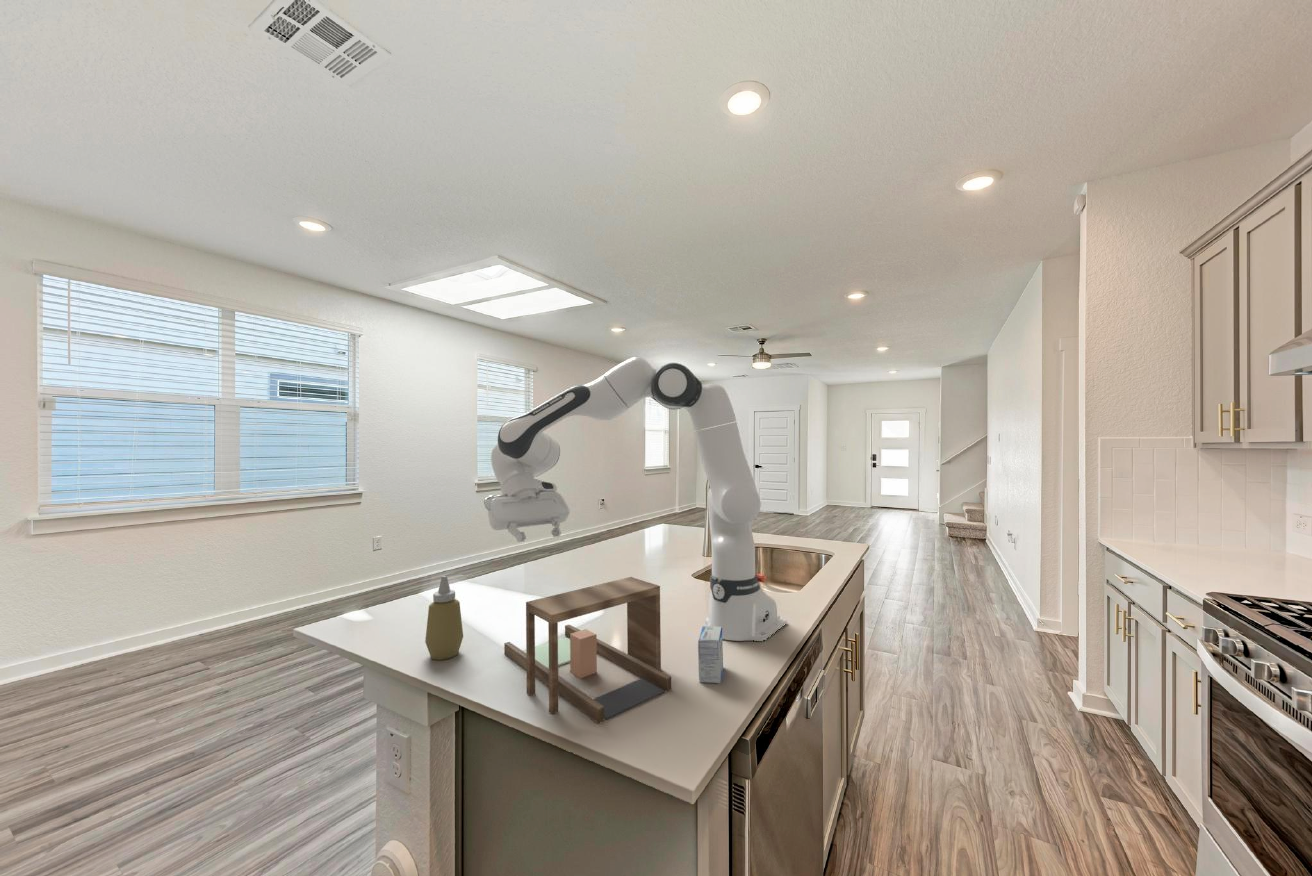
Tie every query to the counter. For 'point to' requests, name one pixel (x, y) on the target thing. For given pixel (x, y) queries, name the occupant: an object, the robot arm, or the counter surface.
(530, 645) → the walnut tunnel
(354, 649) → the counter surface
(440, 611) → the squeeze bottle
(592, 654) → the terracotta block
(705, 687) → the counter surface
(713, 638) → the medicine box
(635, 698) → the pad
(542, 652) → the pad
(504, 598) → the counter surface
